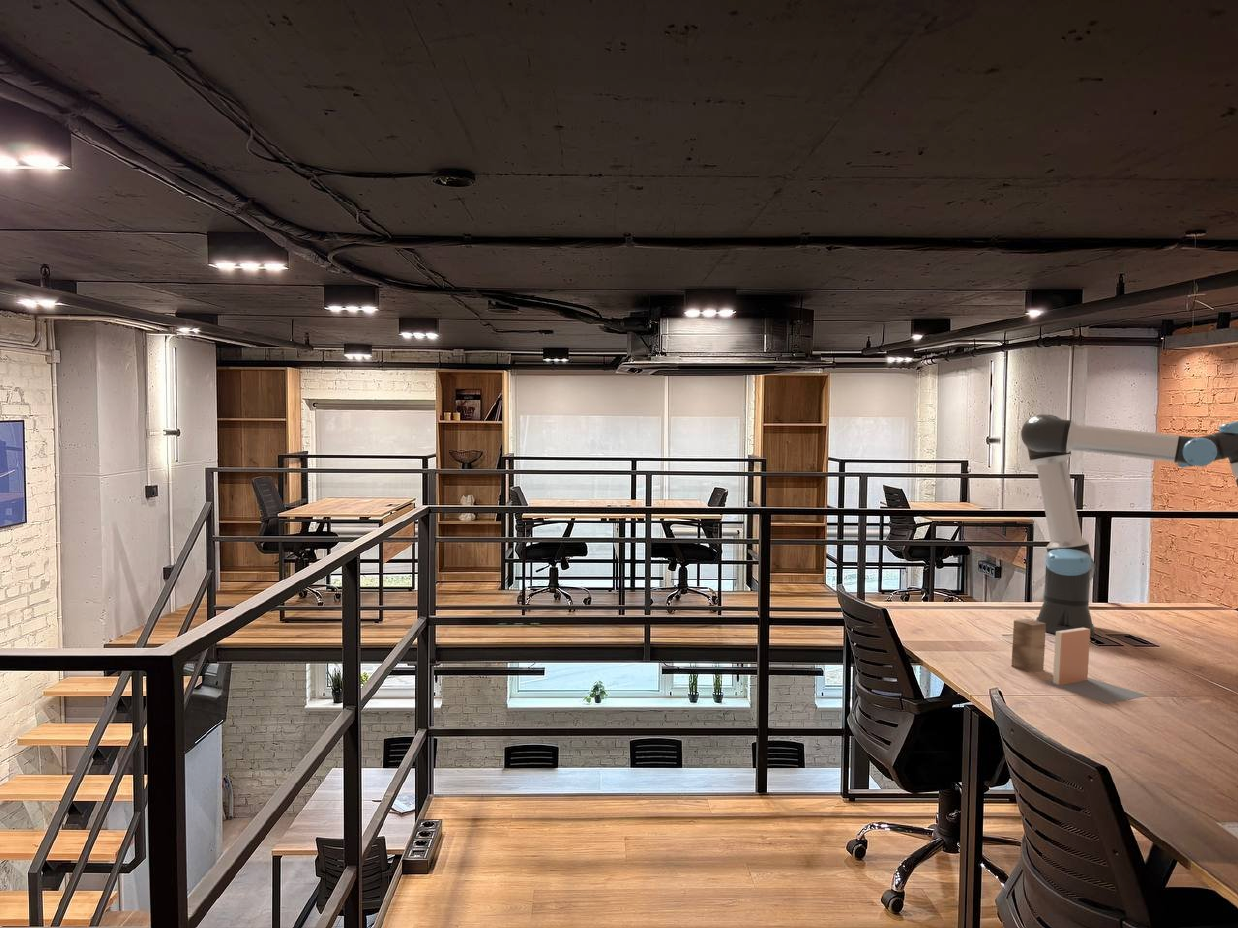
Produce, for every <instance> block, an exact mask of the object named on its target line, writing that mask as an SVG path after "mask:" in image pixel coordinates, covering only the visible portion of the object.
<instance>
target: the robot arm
mask: <svg viewBox="0 0 1238 928" xmlns="http://www.w3.org/2000/svg"><path fill="white" fill-rule="evenodd" d="M1020 431H1021V432H1020V437H1021V441H1022V442H1023V444H1024V446H1025V447H1026V448H1027V453H1028V456H1029V461H1030V462H1031V463H1032V464H1034V465H1035V466H1036V470H1037V476H1038V480H1039V481H1038V482H1039V487H1040V492H1041V496H1042V502H1043V508H1044V513H1045V517H1046V518H1045V519H1046V524H1047V528H1048V534H1049V539H1050V542H1049V543H1048V544H1047V545H1046V551H1047V552H1046V553H1047V554H1046V558H1045V561H1044V565H1045V572H1044V574H1045V575H1044V576H1045V577H1044V591H1043V592H1044V593H1043V603H1042V606H1041V607H1040V611H1039V613H1038V616H1037V617H1036V619H1035V621H1039V622H1042V623H1046V632H1045V633H1049V634H1053V635H1056V631H1062V630H1069V629H1076V628H1088V629H1090V637H1092V636H1094V634H1095V626H1094V623H1093V621H1092V616H1091V612H1090V609H1089V604H1090V603H1089V602H1090V601H1089V600H1090V588H1091V581H1092V580H1093V578H1094V576H1095V573H1096V572H1095V571H1096V564H1095V562H1094V559H1093V558H1092V554H1091V549H1090V544H1089V541H1087V540H1086V539H1084V538H1083V537H1082V533H1081V532H1082V531H1081V527H1080V521H1079V517H1078V511H1077V506H1076V502H1075V496H1074V495H1075V494H1074V492H1073V486H1072V480H1071V474H1070V471H1069V465H1068V460H1069V459H1070V457H1071V456H1072V451H1076V452H1077V451H1078V452H1085V453H1095V454H1101V455H1102V454H1103V455H1112V456H1116V457H1117V456H1119V457H1128V458H1135V459H1142V460H1152V461H1160V462H1166V463H1167V462H1169V463H1176V464H1177V466H1178V467H1179V468H1181V469H1182V468H1188V467H1194V466H1195V467H1206V466H1208V465H1209V464H1212V463H1213V462H1216V461H1219V460H1225V459H1228V461H1229V465H1230V469H1231V471H1232V472H1231V473H1232V474H1233V477H1235V478H1236V479H1235V483H1236V486H1237V487H1238V421H1237V420H1236V421H1232V422H1229V423H1224V424H1220V425H1219V426H1218V432H1216V433H1215V432H1214V433H1213V434H1207V435H1202V436H1198V437H1195V436H1194V437H1193V436H1186V435H1177V434H1176V435H1175V434H1168V433H1159V432H1150V431H1141V430H1139V431H1138V430H1130V429H1129V430H1128V429H1121V428H1111V427H1102V426H1093V425H1085V424H1084V425H1083V424H1077V423H1076V422H1075V421H1074V420H1070V419H1064V418H1063V419H1062V418H1060V417H1058V416H1056V415H1053V414H1045V413H1044V414H1042V413H1041V414H1036V415H1033V416H1031V417H1029V418H1028V419H1027V420H1026V421H1025V422H1024V423H1023V425H1022V428H1021V430H1020Z"/></svg>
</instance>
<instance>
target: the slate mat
mask: <svg viewBox="0 0 1238 928" xmlns="http://www.w3.org/2000/svg"><path fill="white" fill-rule="evenodd" d="M1044 684H1045V685H1048V686H1051V687H1055V688H1058V689H1060V690H1064V691H1067V692H1070V693H1073V694H1075V695H1079V696H1082V697H1085V698H1089V699H1091V700H1095V701H1098V702H1101V703H1104V704H1108V705H1111V704H1114V703H1119V702H1125V701H1128V700H1129V701H1130V700H1133V699H1134V700H1135V699H1138V698H1142V697H1147V696H1148V695H1147V694H1143V693H1141V692H1137V691H1133V690H1130V689H1127V688H1124V687H1121V686H1117V685H1115V684H1114V685H1113V684H1110V683H1107V682H1104V681H1101V680H1097V679H1094V678H1091V677H1088V678H1087V680H1084V681H1079V682H1074V683H1068V684H1063V685H1058V684H1055V683H1053V680H1051V681H1047V682H1044Z"/></svg>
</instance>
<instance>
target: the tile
mask: <svg viewBox="0 0 1238 928" xmlns="http://www.w3.org/2000/svg"><path fill="white" fill-rule="evenodd" d="M1054 640H1055V641H1054V657H1053V658H1054V659H1053V660H1054V661H1053V673H1052V674H1053V677H1052V681H1053V683H1055V684H1058V685H1063V684H1068V683H1074V682H1079V681H1084V680H1087V678H1089V676H1088V675H1089V674H1088V672H1089V663H1090V662H1089V659H1090V643H1091V636H1090V629H1088V628H1076V629H1069V630H1062V631H1056V634H1055V639H1054Z"/></svg>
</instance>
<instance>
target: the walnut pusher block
mask: <svg viewBox="0 0 1238 928" xmlns="http://www.w3.org/2000/svg"><path fill="white" fill-rule="evenodd" d="M1012 629H1013V631H1012V647H1011V648H1012V649H1011V650H1012V651H1011V667H1013V668H1015V669H1018V670H1022V671H1024V672H1027V673H1033V672H1038V671H1044V666H1045V664H1044V663H1045V662H1044V661H1045V651H1046V650H1045V649H1046V646H1045V645H1046V633H1047V632H1046V623H1042V622H1039V621H1036V619H1035V620H1034V619H1030V618H1024V619H1016V620H1015V619H1014V620H1013V628H1012Z"/></svg>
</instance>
